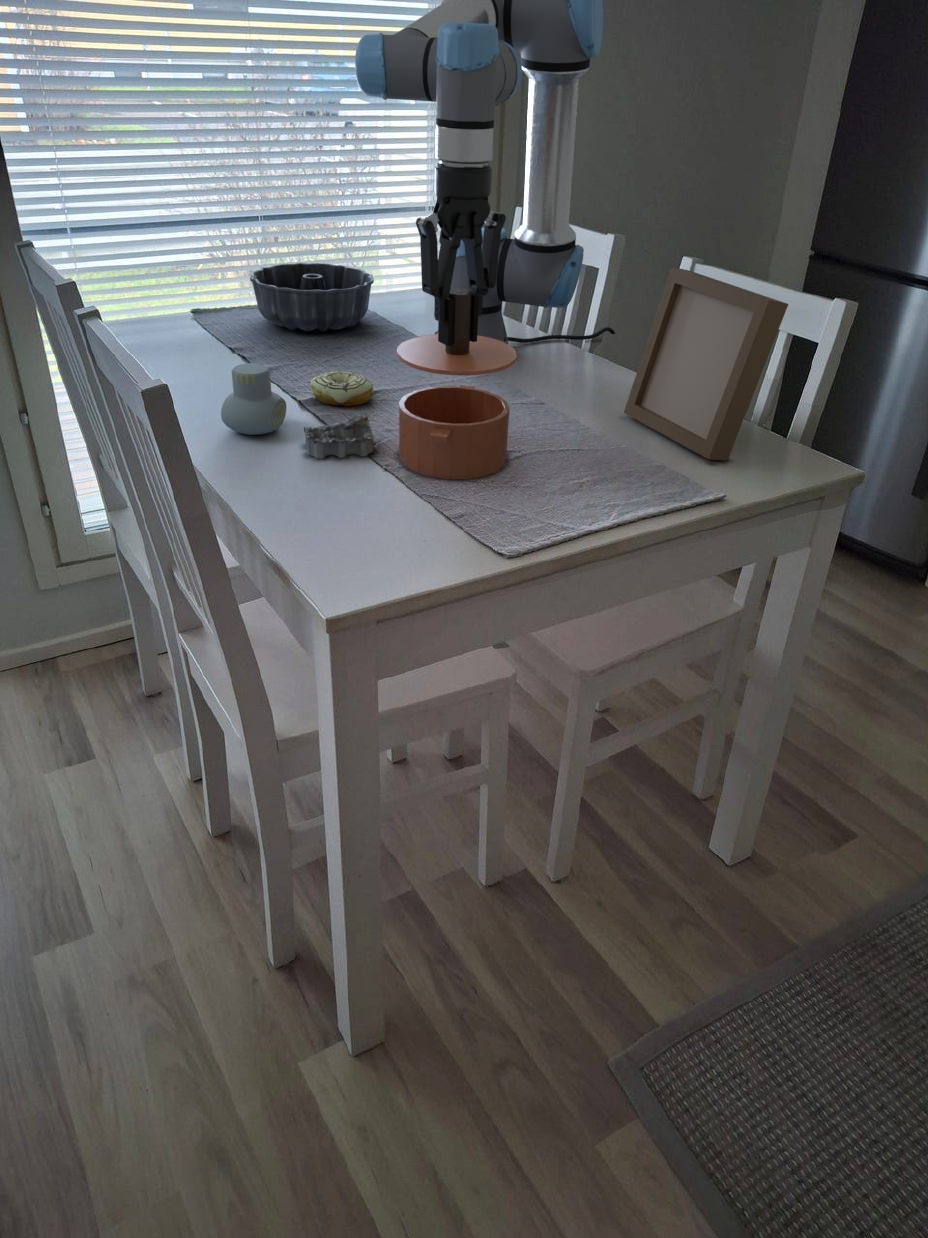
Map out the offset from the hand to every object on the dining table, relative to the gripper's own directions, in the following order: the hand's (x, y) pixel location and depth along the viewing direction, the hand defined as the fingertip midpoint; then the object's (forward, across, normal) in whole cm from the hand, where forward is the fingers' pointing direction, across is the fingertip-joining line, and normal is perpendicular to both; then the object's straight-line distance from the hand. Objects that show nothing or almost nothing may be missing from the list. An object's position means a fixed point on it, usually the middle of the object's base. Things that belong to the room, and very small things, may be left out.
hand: (457, 340), depth 132 cm
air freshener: (+18, +22, -25) cm, 38 cm away
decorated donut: (+18, +3, -31) cm, 36 cm away
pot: (+18, 0, 0) cm, 18 cm away
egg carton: (+18, +14, -11) cm, 26 cm away
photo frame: (+18, -42, +12) cm, 47 cm away
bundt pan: (+19, -14, -76) cm, 79 cm away
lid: (+2, 0, 0) cm, 2 cm away
